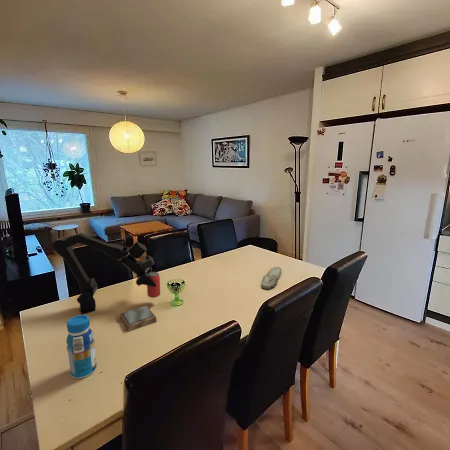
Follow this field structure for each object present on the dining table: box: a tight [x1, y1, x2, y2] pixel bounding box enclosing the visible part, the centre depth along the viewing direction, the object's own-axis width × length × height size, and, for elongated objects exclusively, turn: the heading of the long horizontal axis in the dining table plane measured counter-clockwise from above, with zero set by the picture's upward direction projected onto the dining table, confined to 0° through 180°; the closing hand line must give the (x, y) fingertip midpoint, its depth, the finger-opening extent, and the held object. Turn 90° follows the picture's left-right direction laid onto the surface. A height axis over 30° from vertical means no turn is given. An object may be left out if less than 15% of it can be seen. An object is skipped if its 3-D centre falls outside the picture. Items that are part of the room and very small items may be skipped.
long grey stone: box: [261, 266, 282, 290], centre depth 173 cm, size 35×5×10 cm
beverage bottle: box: [65, 314, 97, 379], centre depth 92 cm, size 8×8×20 cm
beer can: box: [146, 271, 161, 299], centre depth 138 cm, size 7×7×12 cm
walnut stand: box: [119, 305, 157, 332], centre depth 126 cm, size 13×13×3 cm
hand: (156, 283), depth 138 cm, fingers closed on beer can, 7 cm apart
